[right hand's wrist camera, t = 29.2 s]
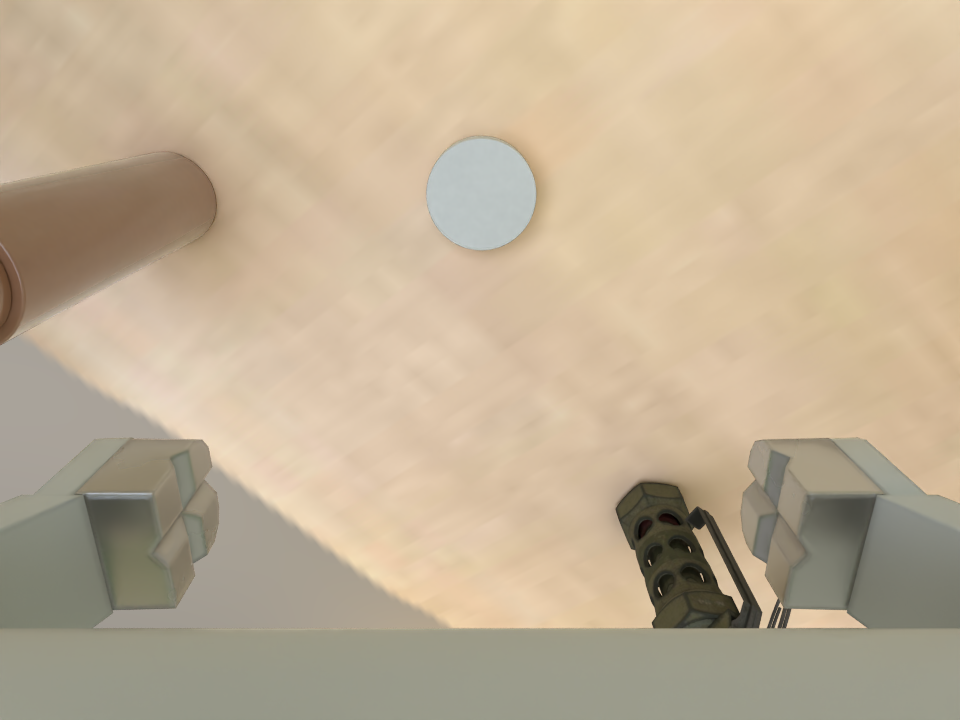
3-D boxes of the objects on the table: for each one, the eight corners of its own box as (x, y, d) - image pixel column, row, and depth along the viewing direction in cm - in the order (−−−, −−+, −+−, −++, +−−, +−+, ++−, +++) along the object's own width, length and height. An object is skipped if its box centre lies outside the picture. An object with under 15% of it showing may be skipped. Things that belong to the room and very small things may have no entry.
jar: (107, 197, 39) (-226, 296, 20) (161, 131, 37) (-143, 174, 19) (180, 261, 40) (-70, 407, 22) (235, 199, 39) (17, 301, 21)
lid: (545, 224, 39) (548, 232, 37) (447, 254, 40) (446, 263, 38) (517, 121, 37) (519, 123, 35) (414, 154, 38) (411, 158, 36)
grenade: (657, 568, 48) (729, 764, 34) (594, 527, 47) (642, 714, 33) (746, 482, 46) (863, 657, 32) (682, 436, 44) (775, 597, 30)
